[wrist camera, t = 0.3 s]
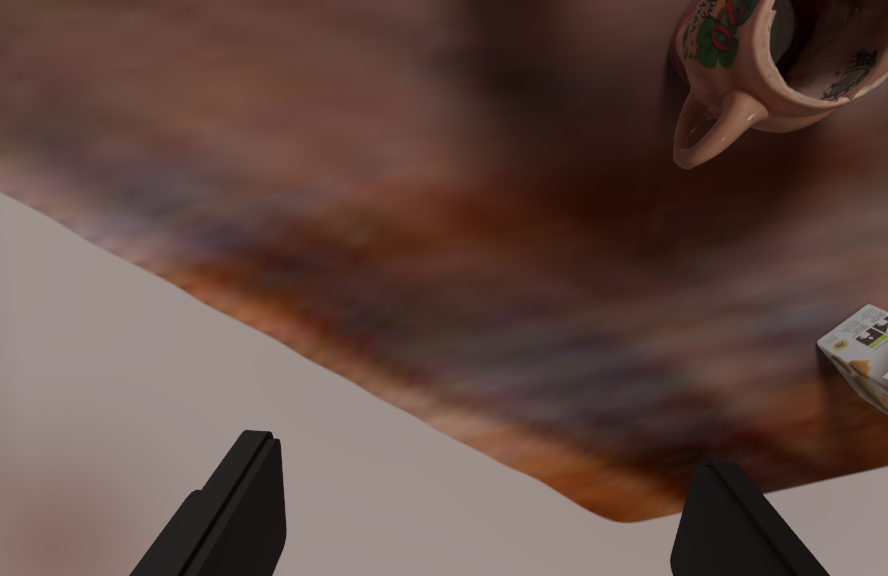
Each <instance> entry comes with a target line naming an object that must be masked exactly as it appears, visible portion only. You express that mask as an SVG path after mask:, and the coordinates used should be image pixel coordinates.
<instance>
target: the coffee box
mask: <svg viewBox="0 0 888 576" xmlns="http://www.w3.org/2000/svg"><path fill="white" fill-rule="evenodd" d="M817 345H818V347H819V348H820V349H821V350H822V351H823V353H824V354H825V355H826V356H827V357H828V359H829V360H830V361H831V362H832V363H833V365H834V366H835V367H836V368H837V369H838V371H839V372H840V373H841V374H842V375H843V377H844V378H845V379H846V380H847V381H848V383H849V384H850V385H851V386H852V388H853V389H854V390H855V391H856V392H857V394H858V395H859V396H860V397H862V398H863V399H865V400H866V401H868V402H869V403H871V404H872V405H874V406H875V407H877V408H878V409H880V410H881V411H882V412H884V413H885V414H887V415H888V312H886V311H884V310H882V309H879V308H877V307H875V306H873V305H871V304H868V305H866V306H864V307H863V308H862V309H860V310H859V311H858V312H856V313H855V314H853V315H852V316H851V317H849V318H848V319H847V320H845V321H844V322H842V323H841V324H840V325H838V326H837V327H836V328H834V329H833V330H832V331H830V332H829V333H827V334H826V335H825V336H823V337H822V338H820V339H819V340H818V341H817Z"/></svg>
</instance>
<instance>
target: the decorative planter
mask: <svg viewBox="0 0 888 576" xmlns="http://www.w3.org/2000/svg"><path fill="white" fill-rule="evenodd" d="M669 53H670V58H671V62H672V64H673V66H674V68H675V70H676V71H677V72H678V74H679V75H680V77H681V78H682V80H683V82H684V84H685V85H686V86H687V88H688V89H690V93H689V95H688V97H687V99H686V101H685V103H684V106H683V108H682V111H681V114H680V117H679V120H678V123H677V126H676V131H675V135H674V139H673V143H674V146H673V160H674V161H675V162H676V164H677V165H678V166H680V167H682V168H683V169H687V170H689V169H691V168H693V167H695V166H697V165H699V164H701V163H703V162H705V161H707V160H709V159H711V158H713V157H715V156H716V155H718V154H719V153H721V152H722V151H724V150H725V149H726V148H727V147H728V146H730V145H731V144H732V143H733V142H734V141H735V140H736V139H737V138H738V137H739V136H740V135H741V134H742V133H744V132H745V131H746V130H747V129H748V128H750V127H752V128H753V129H757V130H761V131H767V132H776V133H786V132H791V131H795V130H799V129H802V128H805V127H807V126H809V125H811V124H813V123H815V122H817V121H819V120H821V119H822V118H824V117H825V116H827V115H828V114H830V113H831V112H832V111H834V110H835V109H836V108H839V107H841V106H844V105H846V104H848V103H850V102H852V101H854V100H856V99H858V98H859V97H861V96H863V95H865V94H866V93H868V92H870V91H871V90H873V89H874V88H875V87H877V86H878V85H879V84H881V83H882V82H883V81H884V80H885V79H886V78H887V77H888V0H692V1H691V3H690V4H689V5H688V7H687V8H686V10H685V11H684V13H683V14H682V16H681V18H680V19H679V21H678V23H677V25H676V27H675V29H674V31H673V34H672V37H671V41H670V48H669ZM709 119H718V120H717V121H716V123H715V124H714V125H713V127H712V128H711V129H710V130H709V131H708V133H707V134H706V135H705V136H704V137H703V138H702V139H701V140H700V141H699V142H698V143H697V144H695V145H694V146H693V147H691V148H689V149H688V143H689V135H690V133H692V132H694V131H695V129H696V128H697V127H698V125H699V124H701V123H702V122H704V121H706V120H709Z"/></svg>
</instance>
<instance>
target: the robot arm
mask: <svg viewBox="0 0 888 576" xmlns="http://www.w3.org/2000/svg"><path fill="white" fill-rule="evenodd" d="M285 540H286V516H285V500H284V486H283V471H282V457H281V443H280V440H279V439H273V435H272V433H271V432H269V431H252V430H245V431H244V432H243V433H242V434H241V435H240V436H239V438H238V439H237V441H236V442H235V443H234V445H233V446H232V448H231V449H230V451H229V452H228V453H227V455H226V456H225V457H224V459H223V460H222V462H221V463H220V464H219V466H218V467H217V469H216V470H215V471H214V473H213V474H212V476H211V477H210V479H209V480H208V481H207V483H206V485H205V486H204V487H203V489H202V490H195V491H193V492H191V494H190V495H189V496H188V497H187V498H186V499H185V501H184V502H183V503H182V505H181V506H180V507H179V509H178V510H177V512H176V513H175V514H174V516H173V517H172V518H171V520H170V521H169V522H168V524H167V525H166V527H165V528H164V529H163V531H162V532H161V533H160V535H159V536H158V537H157V539H156V540H155V541H154V543H153V544H152V545H151V547H150V548H149V550H148V551H147V552H146V554H145V555H144V556H143V558H142V559H141V560H140V562H139V563H138V565H137V566H136V567H135V569H134V570H133V571H132V573H131V574H130V575H129V576H272V575H273V572H274V570H275V568H276V565H277V562H278V560H279V558H280V556H281V553H282V551H283V548H284V545H285ZM670 563H671V570H672V573H673V576H830V575H829V574H828V573H827V571H826V570H825V569H824V568H823V567H822V566H821V564H820V563H819V562H818V561H817V559H816V558H815V557H814V556H813V554H812V553H811V552H810V551H809V550H808V548H806V546H805V545H804V544H803V543H802V541H801V540H800V539H799V538H798V536H797V535H796V534H795V533H794V532H793V530H792V529H791V528H790V527H789V526H788V524H787V523H786V522H785V521H784V520H783V518H782V517H781V516H780V515H779V514H778V512H777V511H776V510H775V509H774V507H773V506H772V505H771V504H770V503H769V501H768V500H767V499H766V498H765V497H764V495H763V494H762V493H761V492H760V491H759V489H758V488H757V487H756V486H755V485H754V483H753V482H752V481H751V480H750V479H749V477H748V476H747V475H746V474H745V473H744V471H743V470H742V469H741V468H740V466H739V465H738V464H736V463H735V462H733V461H721V460H705V461H704V462H703V463H702V465H701V466H697V467H696V468H695V470H694V472H693V476H692V480H691V483H690V487H689V491H688V494H687V498H686V502H685V505H684V509H683V513H682V516H681V520H680V524H679V527H678V531H677V535H676V538H675V542H674V546H673V549H672V553H671V558H670Z"/></svg>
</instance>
